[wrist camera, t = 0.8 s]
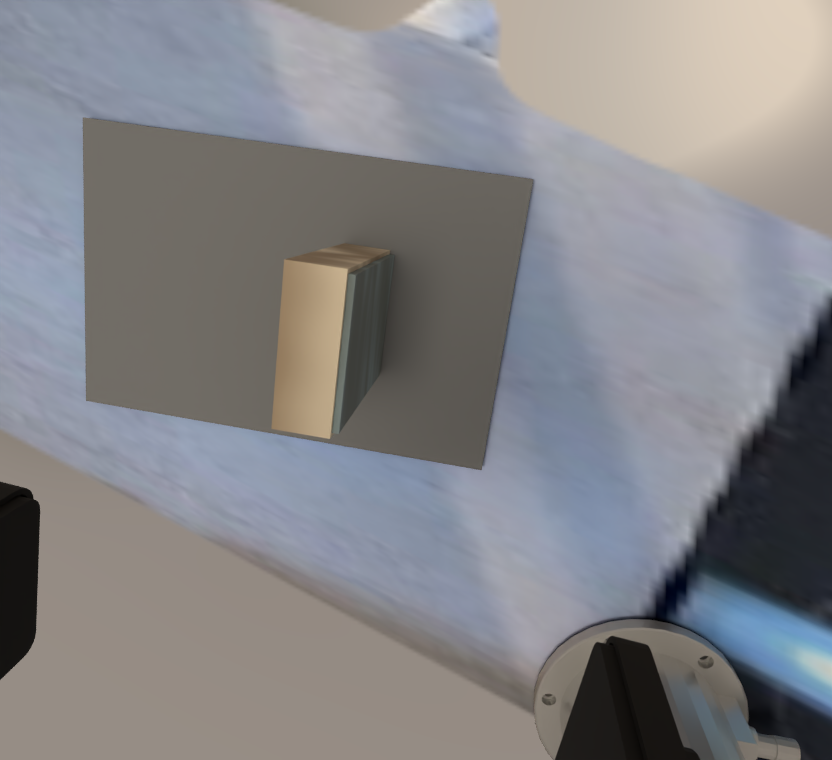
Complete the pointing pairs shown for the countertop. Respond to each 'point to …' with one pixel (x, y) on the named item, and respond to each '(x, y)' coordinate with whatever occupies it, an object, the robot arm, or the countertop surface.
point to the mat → (263, 275)
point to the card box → (330, 336)
